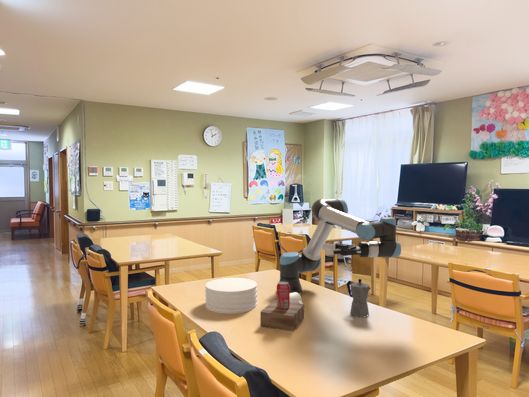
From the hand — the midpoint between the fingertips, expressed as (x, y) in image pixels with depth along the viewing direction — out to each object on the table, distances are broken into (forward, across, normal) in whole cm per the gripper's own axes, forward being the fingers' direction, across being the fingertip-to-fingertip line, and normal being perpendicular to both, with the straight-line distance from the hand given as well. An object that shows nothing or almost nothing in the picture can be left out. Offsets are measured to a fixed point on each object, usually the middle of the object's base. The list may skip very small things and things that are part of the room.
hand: (324, 249), depth 188 cm
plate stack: (+47, +20, -34) cm, 62 cm away
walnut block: (+20, -6, -34) cm, 40 cm away
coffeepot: (-18, +6, -34) cm, 39 cm away
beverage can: (+20, -6, -27) cm, 34 cm away
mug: (+15, +12, -34) cm, 39 cm away
